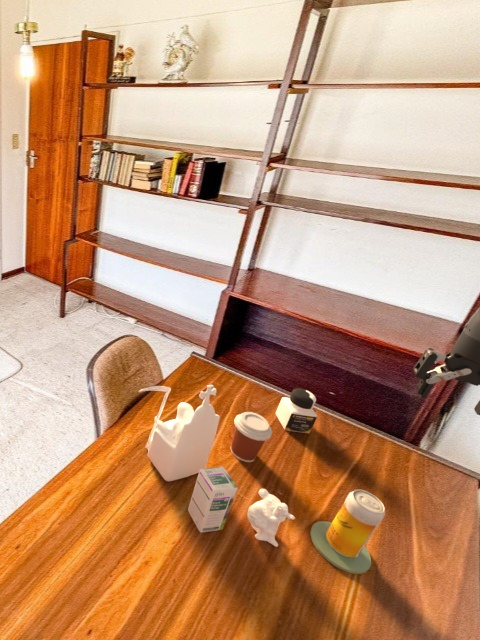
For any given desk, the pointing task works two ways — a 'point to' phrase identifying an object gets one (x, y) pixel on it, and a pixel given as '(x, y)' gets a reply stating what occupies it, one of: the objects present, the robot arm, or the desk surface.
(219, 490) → the syrup box
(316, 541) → the coaster
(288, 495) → the desk surface
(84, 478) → the desk surface
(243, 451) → the coffee cup
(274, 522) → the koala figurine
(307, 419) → the medicine bottle
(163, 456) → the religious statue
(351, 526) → the beer can
